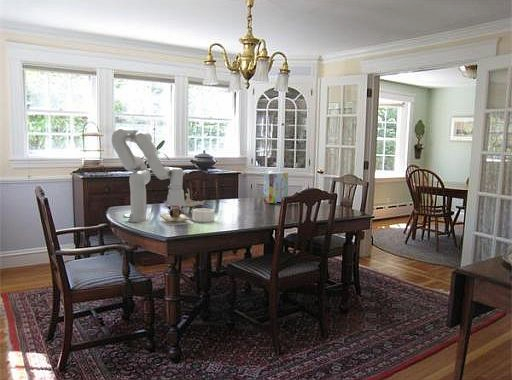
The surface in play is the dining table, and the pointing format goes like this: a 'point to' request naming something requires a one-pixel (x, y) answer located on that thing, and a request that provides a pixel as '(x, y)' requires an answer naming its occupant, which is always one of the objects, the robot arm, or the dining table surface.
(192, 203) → the jawbone
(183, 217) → the birch lid
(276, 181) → the snack box
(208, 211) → the ceramic bowl
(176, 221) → the grey mat
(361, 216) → the dining table surface
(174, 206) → the heart model
